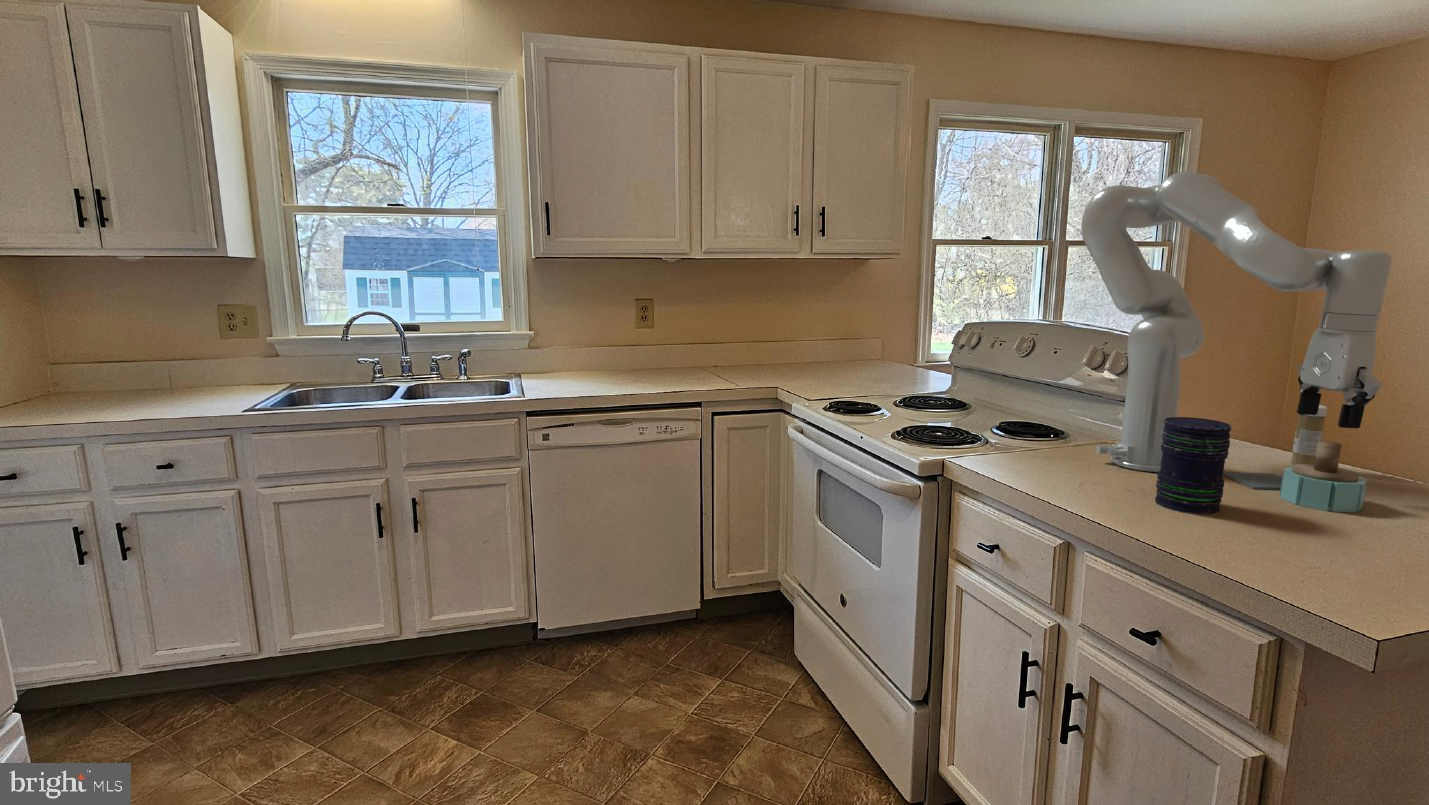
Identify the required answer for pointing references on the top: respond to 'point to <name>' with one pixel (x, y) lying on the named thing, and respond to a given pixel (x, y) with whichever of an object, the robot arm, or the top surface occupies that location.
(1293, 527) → the top surface
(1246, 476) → the mat
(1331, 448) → the lid
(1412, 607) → the top surface
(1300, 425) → the sprinkles bottle
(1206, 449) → the storage jar
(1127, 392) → the robot arm
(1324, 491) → the bowl
